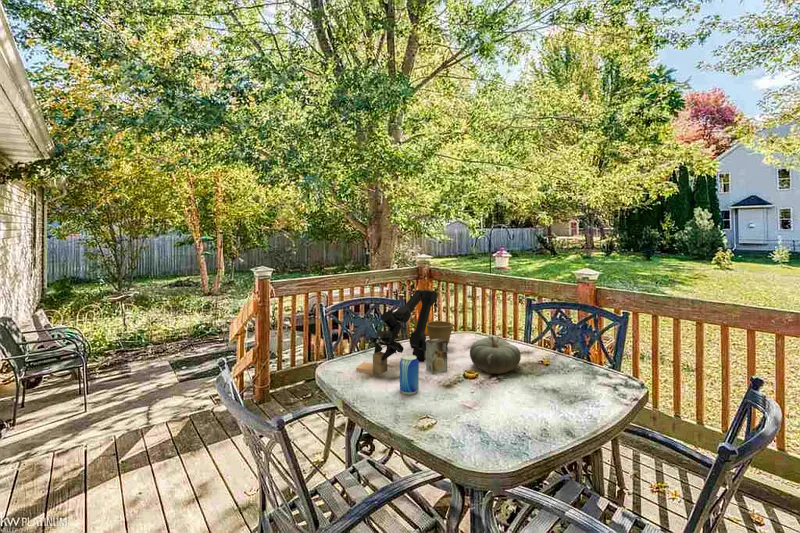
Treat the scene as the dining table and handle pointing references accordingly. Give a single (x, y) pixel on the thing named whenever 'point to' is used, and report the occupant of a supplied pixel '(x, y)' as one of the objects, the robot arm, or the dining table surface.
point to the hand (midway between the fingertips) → (378, 359)
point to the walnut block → (379, 363)
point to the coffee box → (436, 355)
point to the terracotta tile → (365, 368)
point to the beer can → (409, 374)
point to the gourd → (495, 355)
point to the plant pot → (439, 330)
